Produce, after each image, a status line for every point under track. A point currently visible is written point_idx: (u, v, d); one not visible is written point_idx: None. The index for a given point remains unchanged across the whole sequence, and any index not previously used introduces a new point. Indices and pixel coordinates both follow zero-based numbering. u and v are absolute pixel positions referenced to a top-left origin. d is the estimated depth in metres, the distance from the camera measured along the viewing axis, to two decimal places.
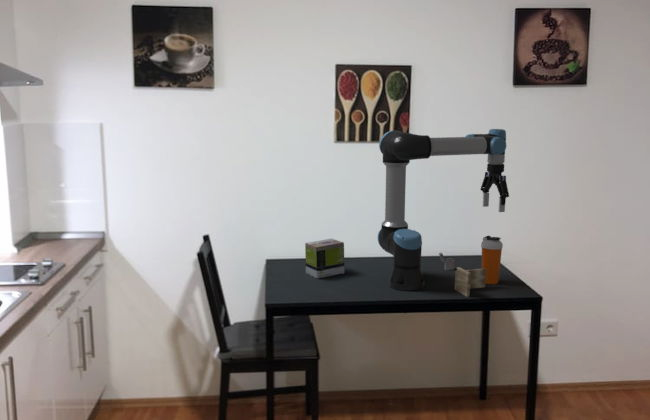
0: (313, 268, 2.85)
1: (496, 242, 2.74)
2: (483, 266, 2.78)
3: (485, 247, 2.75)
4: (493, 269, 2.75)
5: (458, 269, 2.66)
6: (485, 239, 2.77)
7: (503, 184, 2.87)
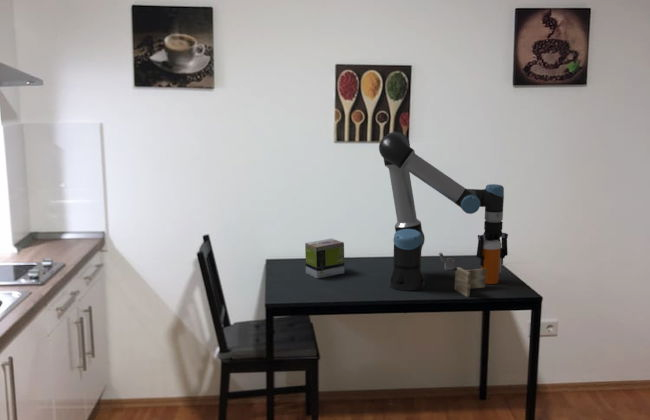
0: (313, 268, 2.85)
1: (495, 242, 2.74)
2: None
3: (484, 247, 2.74)
4: (493, 269, 2.75)
5: (458, 269, 2.66)
6: (484, 239, 2.76)
7: (478, 244, 2.76)
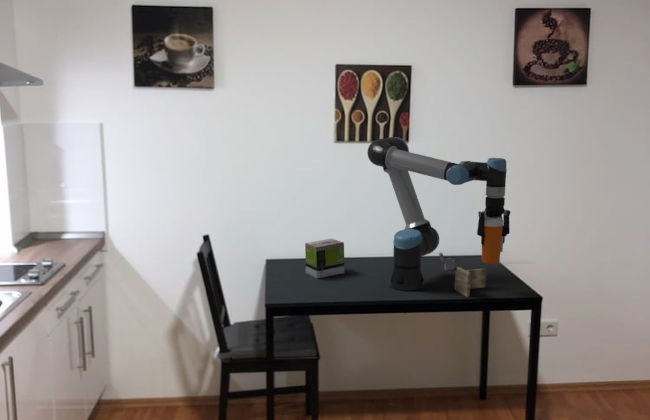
0: (313, 269, 2.85)
1: (496, 219, 2.58)
2: (483, 245, 2.62)
3: (485, 224, 2.59)
4: (494, 248, 2.60)
5: (458, 269, 2.66)
6: (485, 216, 2.61)
7: (479, 221, 2.60)
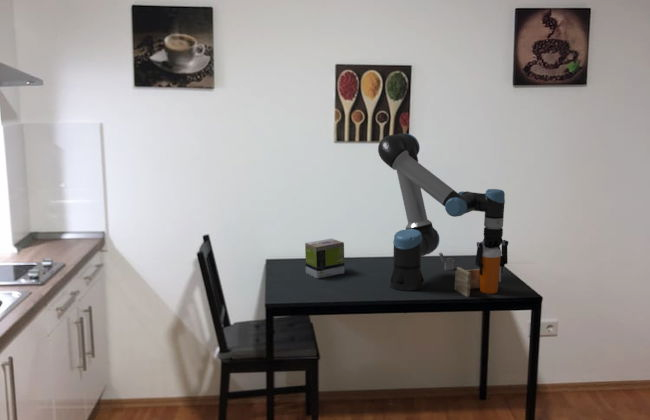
0: (313, 268, 2.85)
1: (494, 250, 2.61)
2: (481, 275, 2.65)
3: (483, 255, 2.62)
4: (492, 278, 2.63)
5: (458, 269, 2.66)
6: (483, 247, 2.63)
7: (477, 252, 2.63)
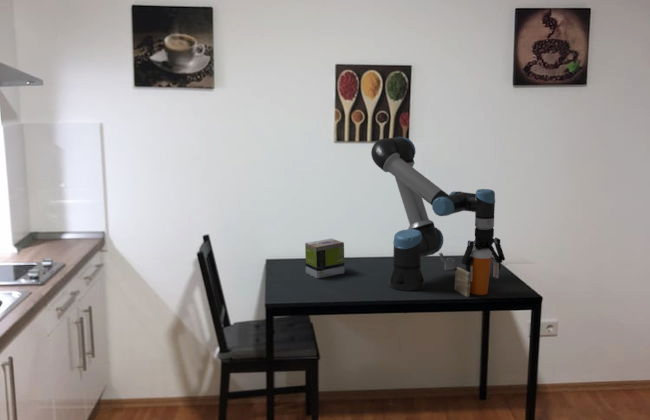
0: (313, 268, 2.85)
1: (485, 251, 2.60)
2: None
3: (474, 256, 2.60)
4: (482, 279, 2.61)
5: (458, 269, 2.66)
6: (474, 247, 2.62)
7: (466, 250, 2.61)
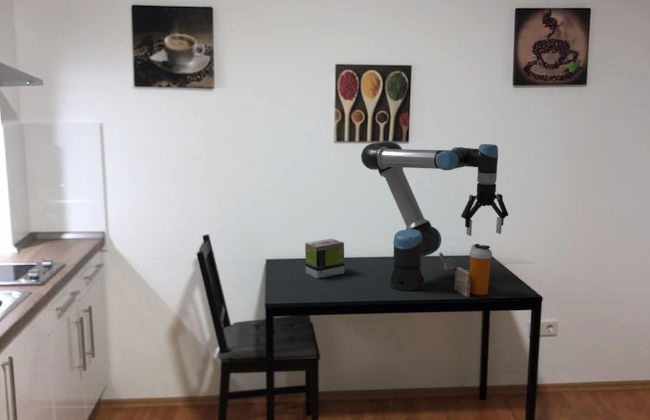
0: (313, 269, 2.85)
1: (485, 251, 2.60)
2: (471, 276, 2.63)
3: (473, 256, 2.60)
4: (482, 279, 2.61)
5: (458, 269, 2.66)
6: (474, 247, 2.62)
7: (467, 204, 2.59)
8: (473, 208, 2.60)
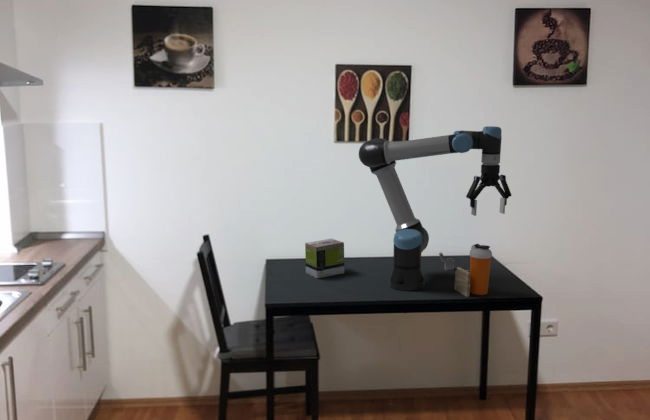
0: (313, 268, 2.85)
1: (485, 251, 2.60)
2: (471, 276, 2.63)
3: (473, 256, 2.60)
4: (482, 279, 2.61)
5: (458, 269, 2.66)
6: (473, 247, 2.62)
7: (472, 185, 2.67)
8: (478, 188, 2.68)
